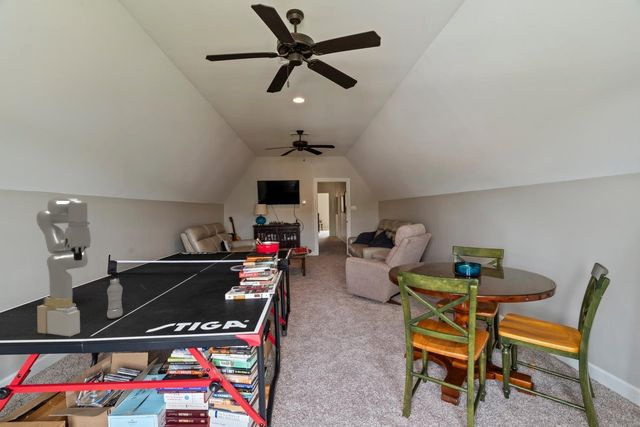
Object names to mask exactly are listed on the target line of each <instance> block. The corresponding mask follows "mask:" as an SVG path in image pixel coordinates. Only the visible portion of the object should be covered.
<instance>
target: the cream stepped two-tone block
mask: <svg viewBox="0 0 640 427" xmlns="http://www.w3.org/2000/svg"><path fill="white" fill-rule="evenodd" d="M36 310H37V311H36V312H37V313H36V315H37V316H36V317H37V318H36V319H37V320H36V321H37V333H38V334H45V335H46V334H50V335H56V336H57V335H58V336H64V337H72V336H74V335H78V334H80V333H81V318H80V316H81V313H80V310H79V309H78V307H76V306H75V307H70V308H67V309H59V308H58V306H49V305H44V304H41V305H37V308H36Z"/></svg>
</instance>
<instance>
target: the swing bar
mask: <svg viewBox="0 0 640 427" xmlns="http://www.w3.org/2000/svg"><path fill="white" fill-rule="evenodd" d="M72 303H73V298H72V299H66V298H57V297H50V296H45V297H43V305H49V306H58V307H69V306H72Z"/></svg>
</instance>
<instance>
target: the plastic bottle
mask: <svg viewBox="0 0 640 427" xmlns="http://www.w3.org/2000/svg"><path fill="white" fill-rule="evenodd" d="M109 283H110V285H109V286H108V287H107V290H106V293H107V298H108V299H107V300H108V304H107V312H106V316H107V318H108V319H111V320H112V319H117V318H120V317H122V316H123V313H124V311H123V305H122V295H123V286H122V285H121V284H120V278H116V277H115V278H110V280H109Z"/></svg>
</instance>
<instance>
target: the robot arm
mask: <svg viewBox="0 0 640 427" xmlns="http://www.w3.org/2000/svg"><path fill="white" fill-rule="evenodd" d="M36 223H37V226H38V227H39V229H40V230H41V232H42V233H43V235H44V240H45V245H46V248H47V252H48V253H49V254H51V255H50V256H48V257H47V260H46V266H47V270H48V276H49V277H48V278H49V297H57V298H66V299H72V300H73V276H72V275H71V273H69V271H67V270H73V269H80V268H84V267H86V266H87V264H88V262H89V261H88V254H87V252H86V251H87V250H86V249H89V248H90V247H91V243H92V242H91V240H92V239H91V232H90V231H91V230H90V227H89V225H90V222H89V221H88V202H87V201H84V200H80V199H79V198H76V197H64V196H63V197H60V196H58V197H53V198H51V199H49V200H48V202H47V209H44V210H39V211H38V212H37V214H36ZM55 224H67V227H65V231H64V230H63V229H62V228H61V227H59V226H58V225H55ZM76 306H77V304H76V303H75V302H74V303H73V302H72V306H69V307H58V308H59V309H67V308H70V307H76Z"/></svg>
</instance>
